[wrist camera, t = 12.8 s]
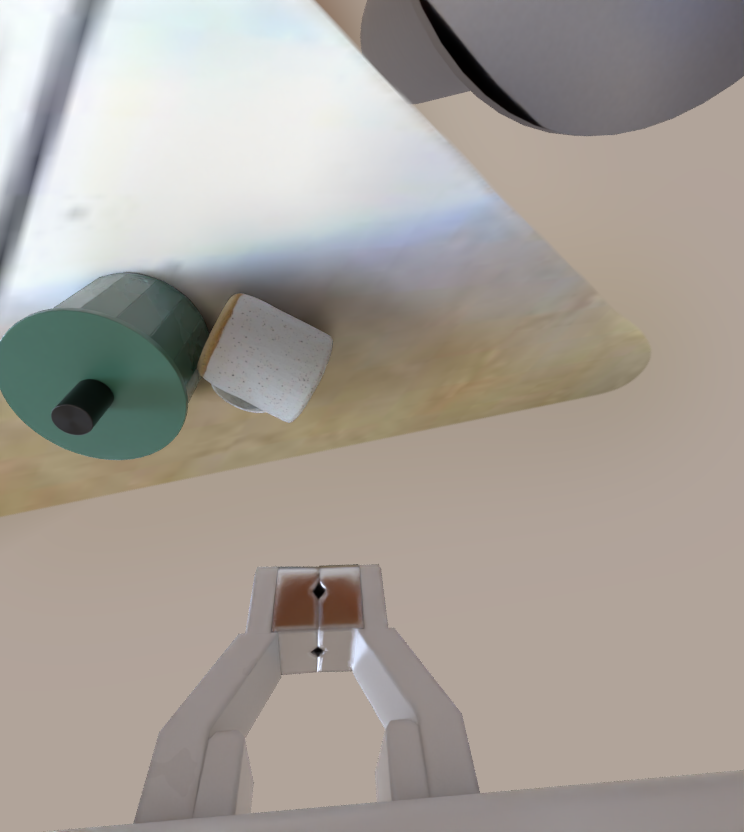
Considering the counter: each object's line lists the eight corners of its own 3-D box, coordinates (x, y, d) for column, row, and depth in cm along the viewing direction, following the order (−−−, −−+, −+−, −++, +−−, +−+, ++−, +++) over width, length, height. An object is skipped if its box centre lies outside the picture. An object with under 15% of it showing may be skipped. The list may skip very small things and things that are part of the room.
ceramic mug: (239, 272, 32) (217, 310, 26) (335, 322, 35) (336, 366, 29) (195, 379, 37) (167, 432, 31) (282, 415, 40) (272, 471, 34)
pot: (103, 243, 30) (37, 278, 23) (233, 324, 35) (209, 374, 28) (56, 348, 34) (-14, 404, 27) (177, 409, 39) (144, 472, 32)
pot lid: (37, 264, 24) (-11, 287, 20) (220, 369, 28) (205, 402, 25) (-16, 401, 28) (-63, 439, 25) (150, 472, 32) (129, 513, 29)
